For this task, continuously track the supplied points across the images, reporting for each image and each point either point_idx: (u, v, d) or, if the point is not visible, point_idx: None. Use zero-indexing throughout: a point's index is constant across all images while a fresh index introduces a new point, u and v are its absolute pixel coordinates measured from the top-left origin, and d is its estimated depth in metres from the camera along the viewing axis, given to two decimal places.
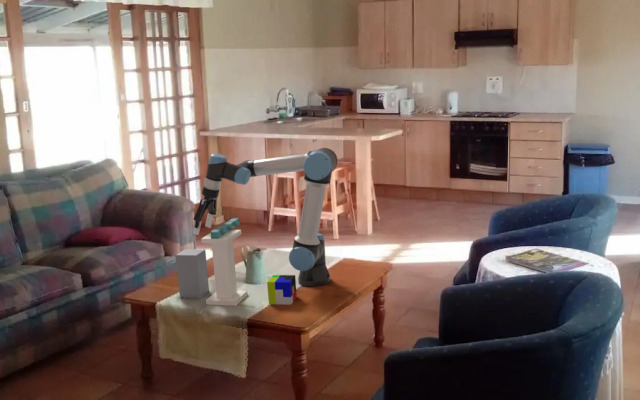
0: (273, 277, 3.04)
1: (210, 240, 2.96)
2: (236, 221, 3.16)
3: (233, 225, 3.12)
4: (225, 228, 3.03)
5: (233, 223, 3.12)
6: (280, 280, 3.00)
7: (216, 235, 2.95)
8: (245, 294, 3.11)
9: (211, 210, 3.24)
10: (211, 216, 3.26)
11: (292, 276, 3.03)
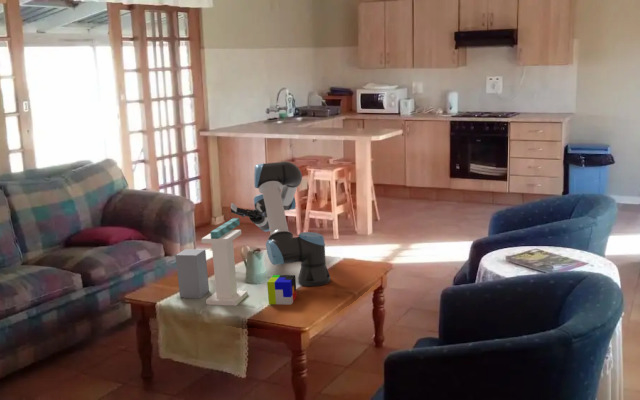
0: (273, 277, 3.04)
1: (210, 240, 2.96)
2: (236, 221, 3.16)
3: (233, 225, 3.12)
4: (225, 228, 3.03)
5: (233, 223, 3.12)
6: (280, 280, 3.00)
7: (216, 235, 2.95)
8: (245, 294, 3.11)
9: None
10: None
11: (292, 276, 3.03)
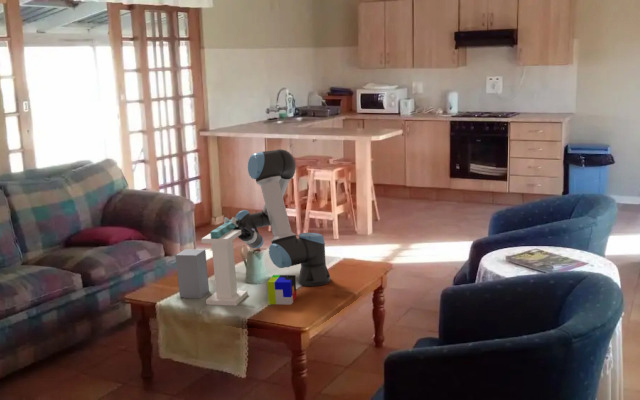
0: (273, 277, 3.04)
1: (210, 240, 2.96)
2: None
3: (233, 225, 3.12)
4: (225, 228, 3.03)
5: None
6: (280, 280, 3.00)
7: (216, 235, 2.95)
8: (245, 294, 3.11)
9: None
10: None
11: (292, 276, 3.03)
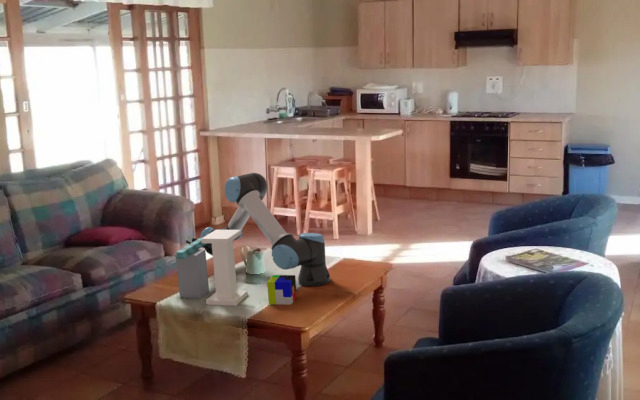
0: (273, 277, 3.04)
1: (210, 240, 2.96)
2: None
3: (200, 244, 3.21)
4: (191, 248, 3.13)
5: (200, 243, 3.22)
6: (280, 280, 3.00)
7: (182, 255, 3.04)
8: (245, 294, 3.11)
9: None
10: None
11: (292, 276, 3.03)
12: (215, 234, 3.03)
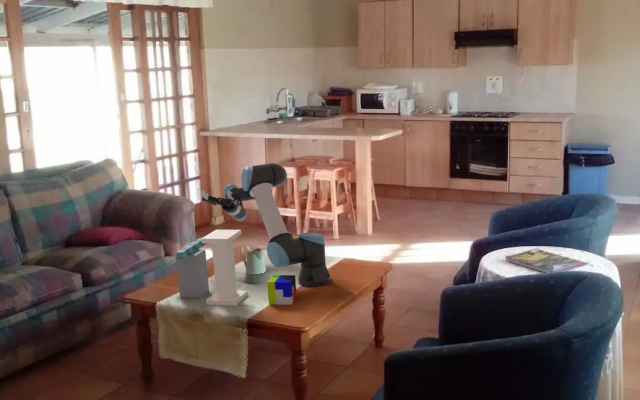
0: (273, 277, 3.04)
1: (210, 240, 2.96)
2: None
3: (200, 244, 3.21)
4: (191, 248, 3.13)
5: (200, 243, 3.22)
6: (280, 280, 3.00)
7: (182, 255, 3.04)
8: (245, 294, 3.11)
9: None
10: None
11: (292, 276, 3.03)
12: (215, 234, 3.03)
